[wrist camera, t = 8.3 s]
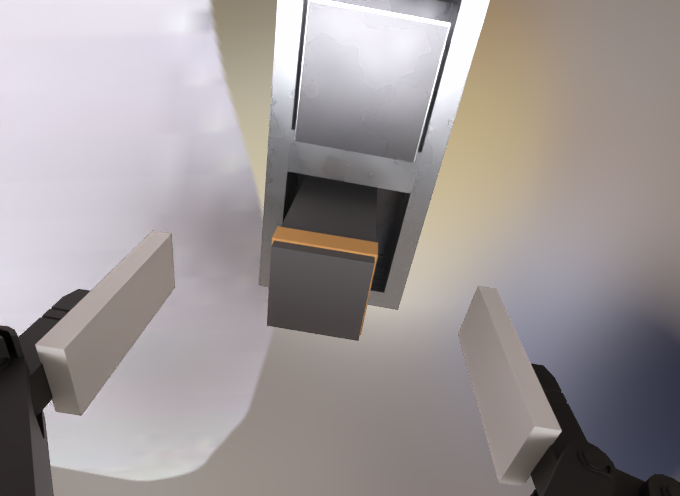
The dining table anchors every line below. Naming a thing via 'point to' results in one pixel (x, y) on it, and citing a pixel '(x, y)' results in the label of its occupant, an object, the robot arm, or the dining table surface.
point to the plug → (324, 259)
